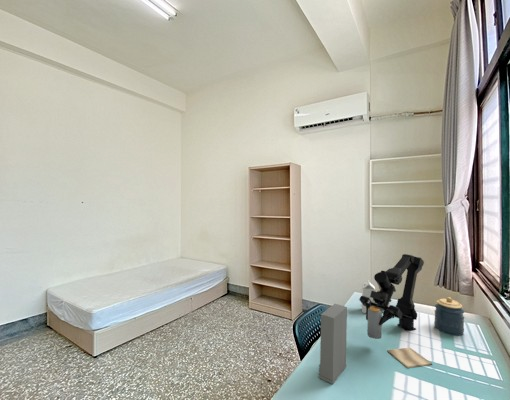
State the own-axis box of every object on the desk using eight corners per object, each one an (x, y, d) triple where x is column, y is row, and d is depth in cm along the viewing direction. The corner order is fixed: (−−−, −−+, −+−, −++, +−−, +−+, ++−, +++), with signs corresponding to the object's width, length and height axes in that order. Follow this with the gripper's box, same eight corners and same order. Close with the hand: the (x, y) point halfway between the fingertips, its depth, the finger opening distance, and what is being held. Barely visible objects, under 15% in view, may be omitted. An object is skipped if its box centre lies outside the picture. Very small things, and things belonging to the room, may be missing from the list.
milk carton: (374, 310, 166) (374, 280, 166) (375, 314, 159) (375, 283, 159) (361, 308, 168) (362, 278, 168) (362, 312, 162) (363, 282, 161)
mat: (409, 348, 123) (410, 347, 123) (431, 364, 112) (432, 363, 112) (387, 351, 121) (387, 350, 121) (407, 367, 109) (407, 366, 109)
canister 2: (468, 338, 134) (469, 303, 134) (438, 333, 138) (439, 299, 138) (458, 326, 146) (458, 294, 146) (430, 322, 150) (431, 291, 150)
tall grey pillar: (332, 361, 113) (333, 303, 113) (346, 367, 109) (347, 306, 109) (317, 377, 102) (318, 313, 102) (332, 385, 99) (333, 318, 98)
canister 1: (375, 331, 128) (376, 304, 127) (384, 338, 122) (384, 310, 122) (364, 332, 126) (365, 305, 126) (372, 339, 120) (373, 311, 120)
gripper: (361, 279, 134) (348, 306, 127) (399, 290, 119) (386, 321, 112) (369, 291, 138) (357, 318, 132) (407, 303, 123) (395, 334, 117)
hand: (372, 322), depth 123 cm, fingers closed on canister 1, 6 cm apart
